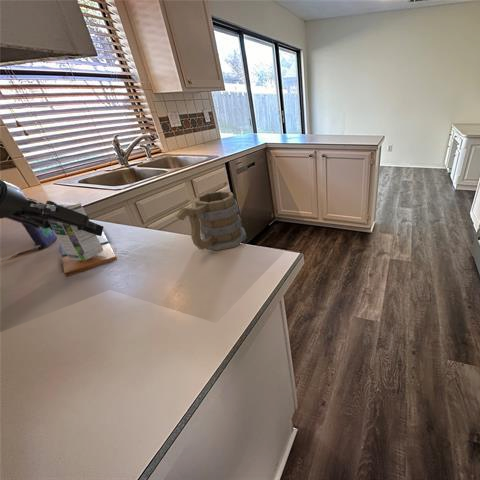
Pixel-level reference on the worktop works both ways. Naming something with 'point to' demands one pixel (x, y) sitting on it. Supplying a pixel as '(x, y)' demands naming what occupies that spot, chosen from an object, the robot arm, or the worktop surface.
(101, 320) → the worktop surface
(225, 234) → the tankard
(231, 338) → the worktop surface
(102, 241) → the slate mat
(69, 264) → the amber mat
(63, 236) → the syrup box
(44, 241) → the flask
